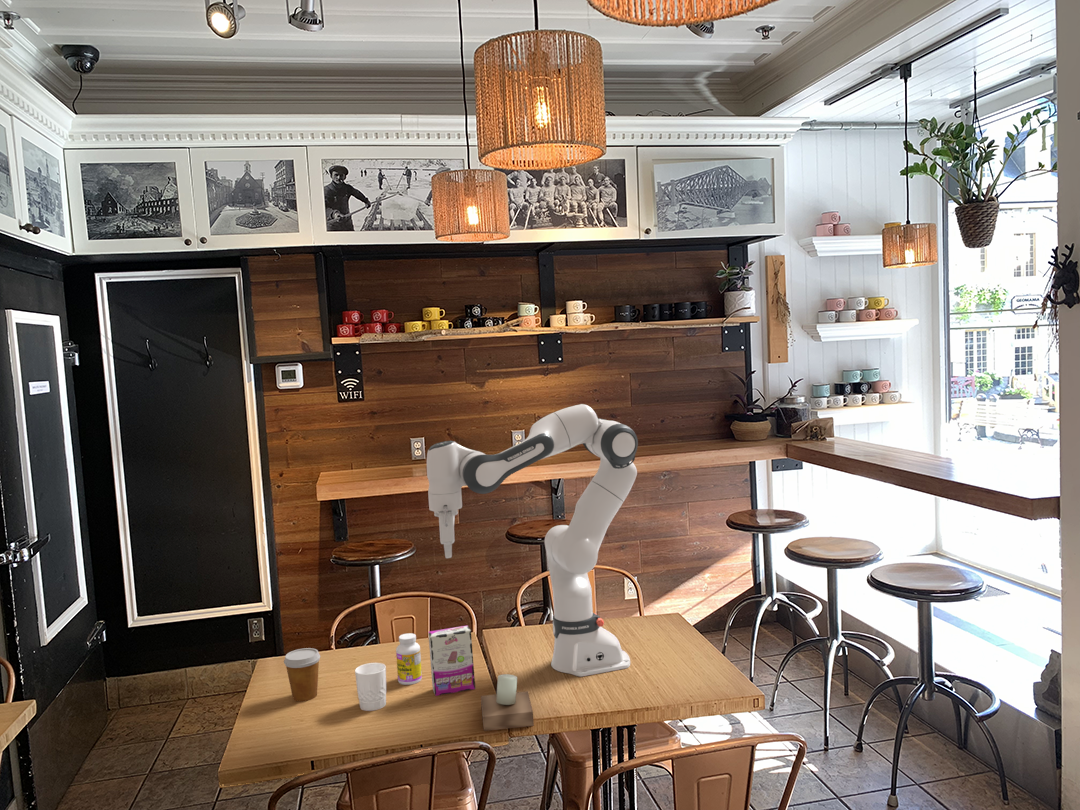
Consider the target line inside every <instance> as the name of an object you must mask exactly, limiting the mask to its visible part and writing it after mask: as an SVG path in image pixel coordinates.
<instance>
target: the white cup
mask: <svg viewBox="0 0 1080 810" xmlns="http://www.w3.org/2000/svg"><path fill="white" fill-rule="evenodd" d="M354 669H355V670H354V673H355V674H354V675H355V683H356V690H357V697H358V702H359V703H358V704H359V708H360V710H362V711H367V712H371V711H372V712H373V711H377V710H381V709H382V708H384V707H386V704H387V666H386V664H385V663H383V662H368V663H364V664H361V665H359V666H357V667H356V668H354Z"/></svg>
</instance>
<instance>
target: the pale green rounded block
mask: <svg viewBox="0 0 1080 810" xmlns="http://www.w3.org/2000/svg"><path fill="white" fill-rule="evenodd" d="M517 685H518V676H516V675H515V674H509V673H506V674H503V673H502V674H499V675H498V676H497V684H496V694H497V697H496V702H497V703H499V704H503V705H512V704H515V703H516V692H517V687H518V686H517Z"/></svg>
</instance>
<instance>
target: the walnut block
mask: <svg viewBox="0 0 1080 810" xmlns="http://www.w3.org/2000/svg"><path fill="white" fill-rule="evenodd" d="M496 697H497V693H495V694H488V695H486V694H485V695H480V700H481V701H480V703H481V712H482V713H481V716H482V724H483V725H482V726H483V731H484V732H488V731H494V730H505V729H514V728H524V727H533V726H534V725H535V724H534V711H533V707H532V702H531V698H530V694H529V691H528V690H527V691H516V703H515V704H512V705H503V704H499V703H497V702H496Z"/></svg>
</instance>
